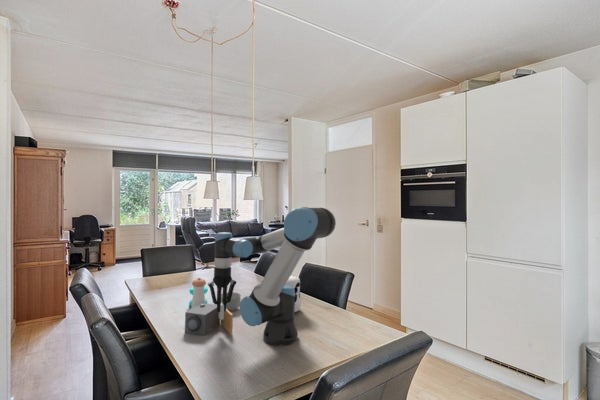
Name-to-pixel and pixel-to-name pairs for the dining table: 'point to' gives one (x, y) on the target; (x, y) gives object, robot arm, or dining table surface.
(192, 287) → the donuts
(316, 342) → the dining table surface
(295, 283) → the milk container
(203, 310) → the camera housing
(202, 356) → the dining table surface
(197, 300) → the salt shaker
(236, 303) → the teacup
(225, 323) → the side door
